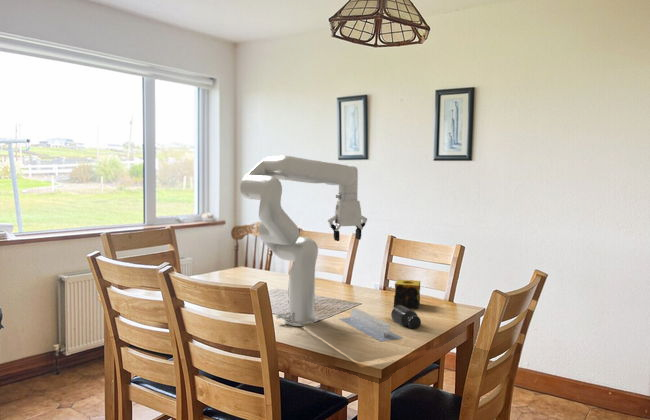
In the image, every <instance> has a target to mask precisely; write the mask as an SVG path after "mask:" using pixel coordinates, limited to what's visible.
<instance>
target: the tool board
mask: <svg viewBox="0 0 650 420" xmlns="http://www.w3.org/2000/svg"><path fill="white" fill-rule="evenodd" d="M339 321H342V322H344V323H346V324H347V325H349V326H351V327H353V328H355V329H356V330H358V331H360V332H361V333H364V334H366V335H367V336H369V337H371V338H373V339H374V340H377V341H378V342H380V343H382V342H387V341H394V340H400V339H404V337H402V336H401V335H398V334H396V333H395V332H393V331H391V330H390V337H382V336H380V335H378V334H376V333H374V332H373V331H371V330H369V329H367V328H365V327H363V326H361V325H359V324H357V323H356V322H354V321H352V320H351V316H350V317H342V318H339Z"/></svg>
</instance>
